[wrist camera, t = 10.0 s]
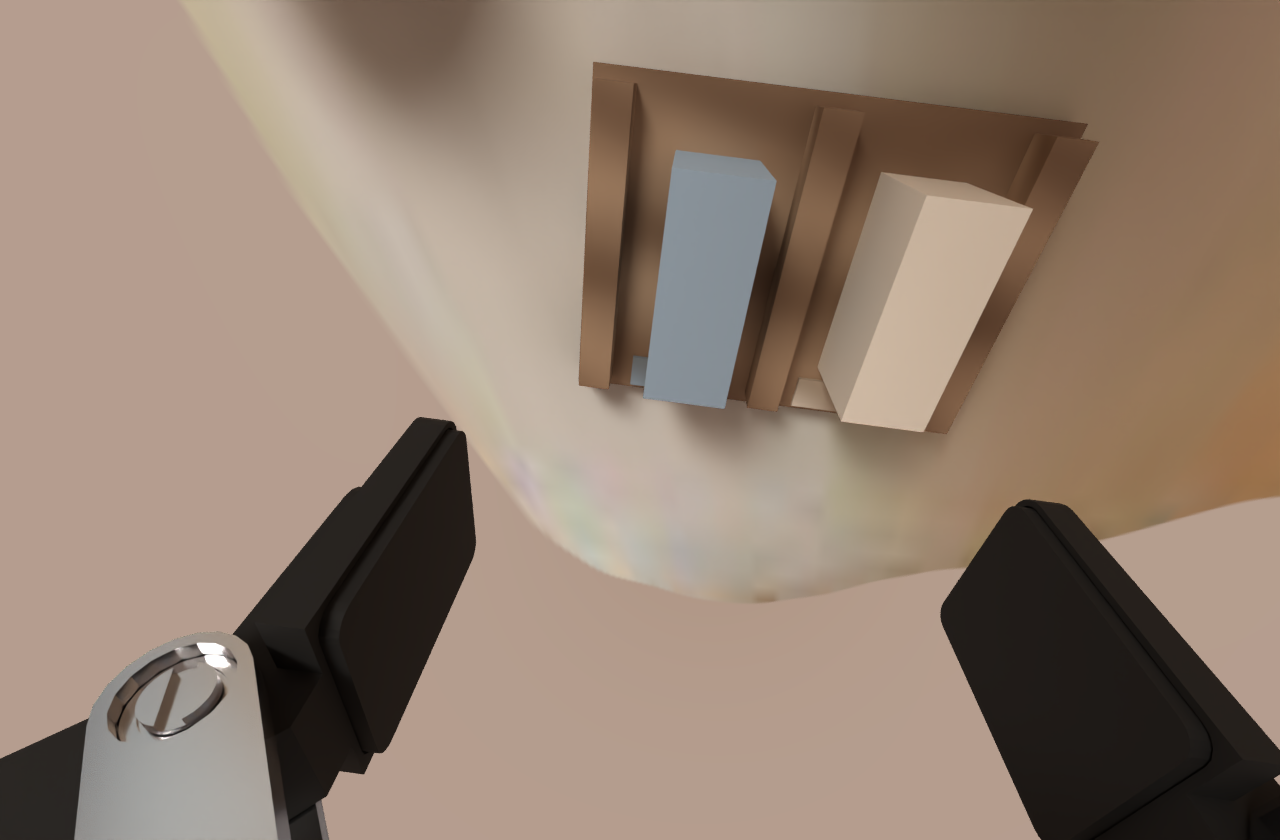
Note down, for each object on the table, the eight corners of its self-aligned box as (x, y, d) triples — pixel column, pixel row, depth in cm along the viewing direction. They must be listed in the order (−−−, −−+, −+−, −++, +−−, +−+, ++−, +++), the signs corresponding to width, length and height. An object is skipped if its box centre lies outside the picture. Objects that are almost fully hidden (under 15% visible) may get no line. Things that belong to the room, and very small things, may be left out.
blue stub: (675, 149, 22) (671, 167, 18) (760, 160, 22) (776, 181, 17) (650, 347, 27) (643, 398, 22) (719, 356, 27) (724, 408, 22)
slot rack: (597, 62, 21) (586, 61, 19) (1072, 121, 21) (1114, 127, 19) (582, 370, 29) (573, 393, 27) (928, 415, 29) (947, 442, 27)
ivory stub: (881, 171, 22) (926, 195, 17) (966, 182, 21) (1033, 208, 17) (817, 367, 26) (841, 421, 22) (886, 376, 26) (923, 432, 22)
